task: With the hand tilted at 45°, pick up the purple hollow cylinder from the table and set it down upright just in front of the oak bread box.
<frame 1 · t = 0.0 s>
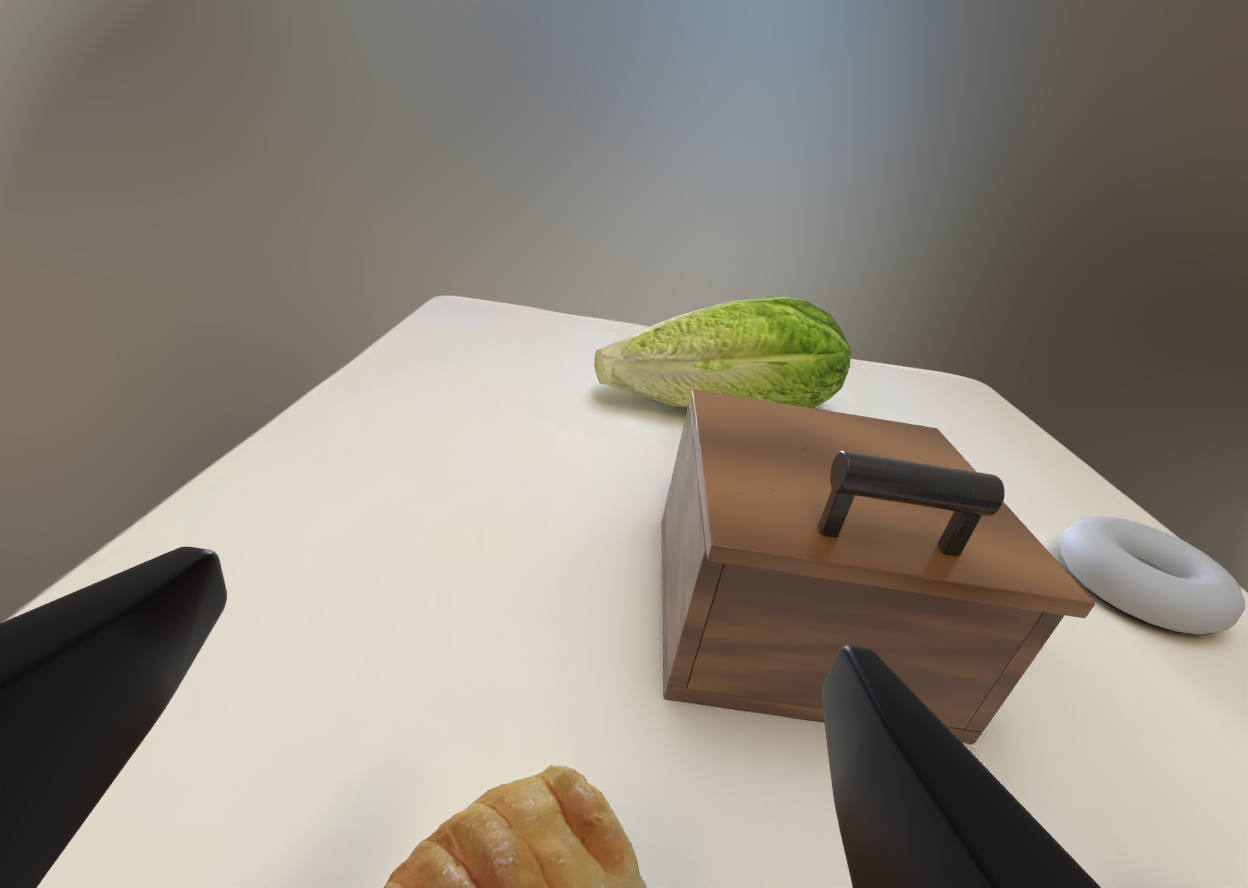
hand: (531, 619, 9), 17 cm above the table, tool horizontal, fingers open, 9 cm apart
lettuce: (709, 405, 58), on the table
bread box lid: (860, 447, 28), point 11 cm above the table, hinge at 0.0°
donut: (1130, 591, 41), on the table
bread box: (791, 613, 34), on the table
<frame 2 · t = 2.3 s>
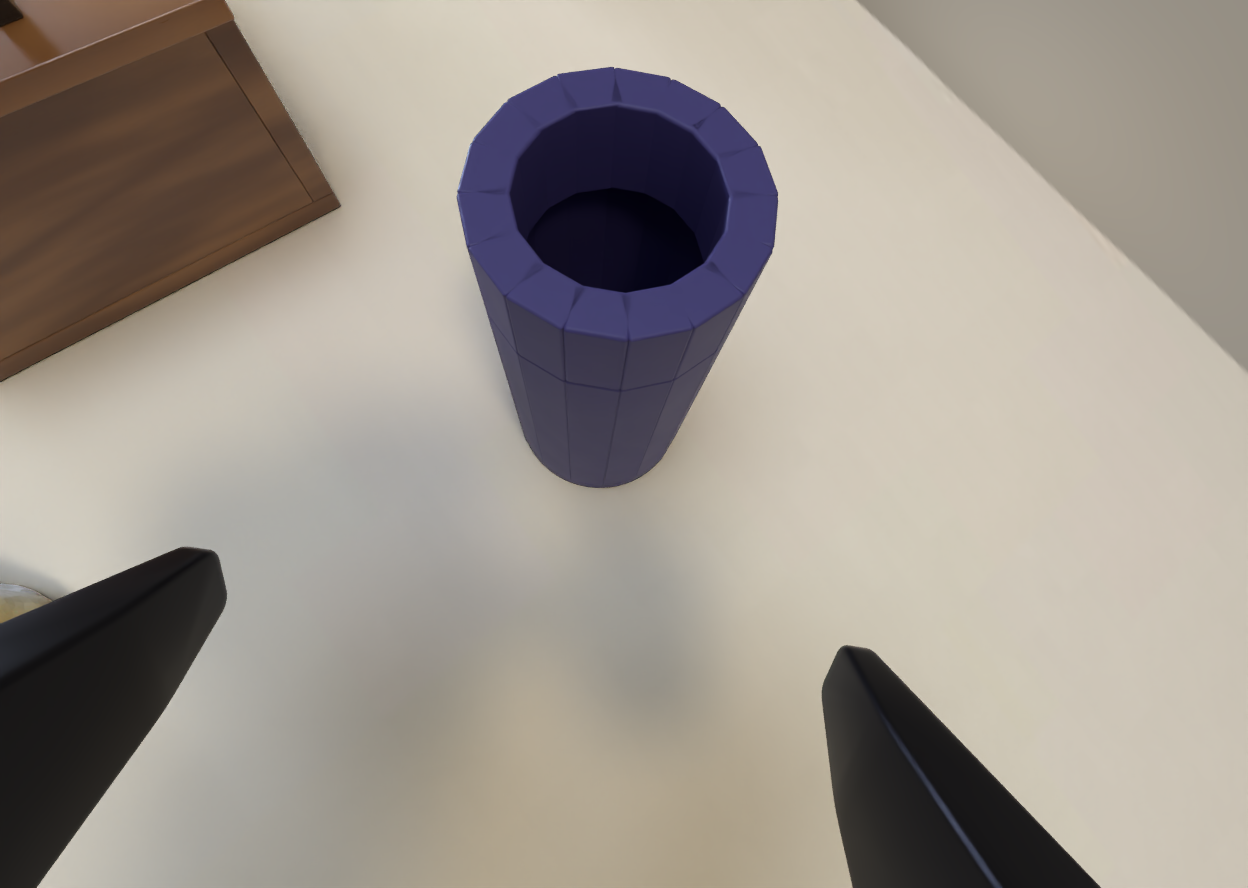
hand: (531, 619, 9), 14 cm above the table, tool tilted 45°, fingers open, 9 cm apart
purple hollow cylinder: (599, 412, 24), on the table
bread box: (103, 172, 25), on the table
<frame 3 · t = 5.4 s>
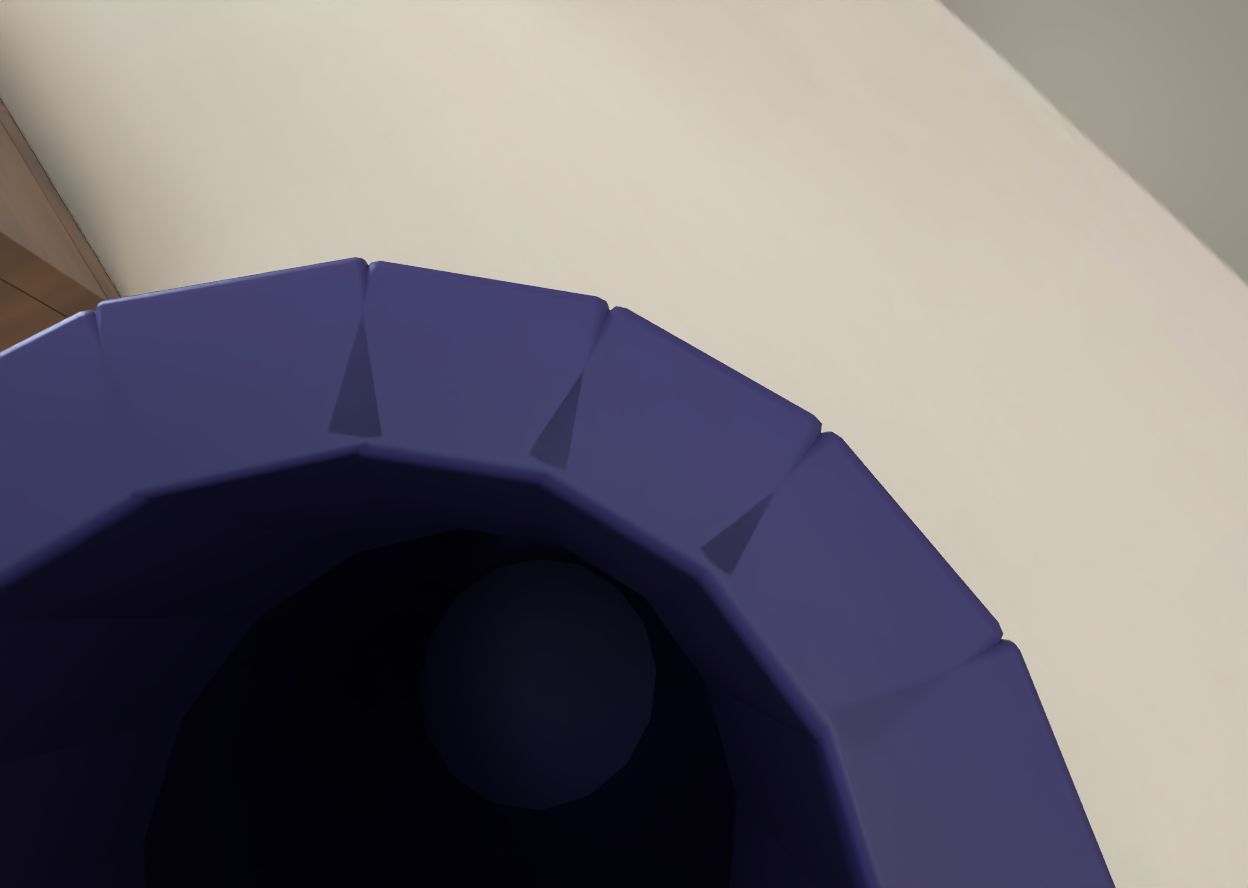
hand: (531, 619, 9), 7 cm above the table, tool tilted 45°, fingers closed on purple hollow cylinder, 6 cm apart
purple hollow cylinder: (541, 674, 15), on the table, touching gripper
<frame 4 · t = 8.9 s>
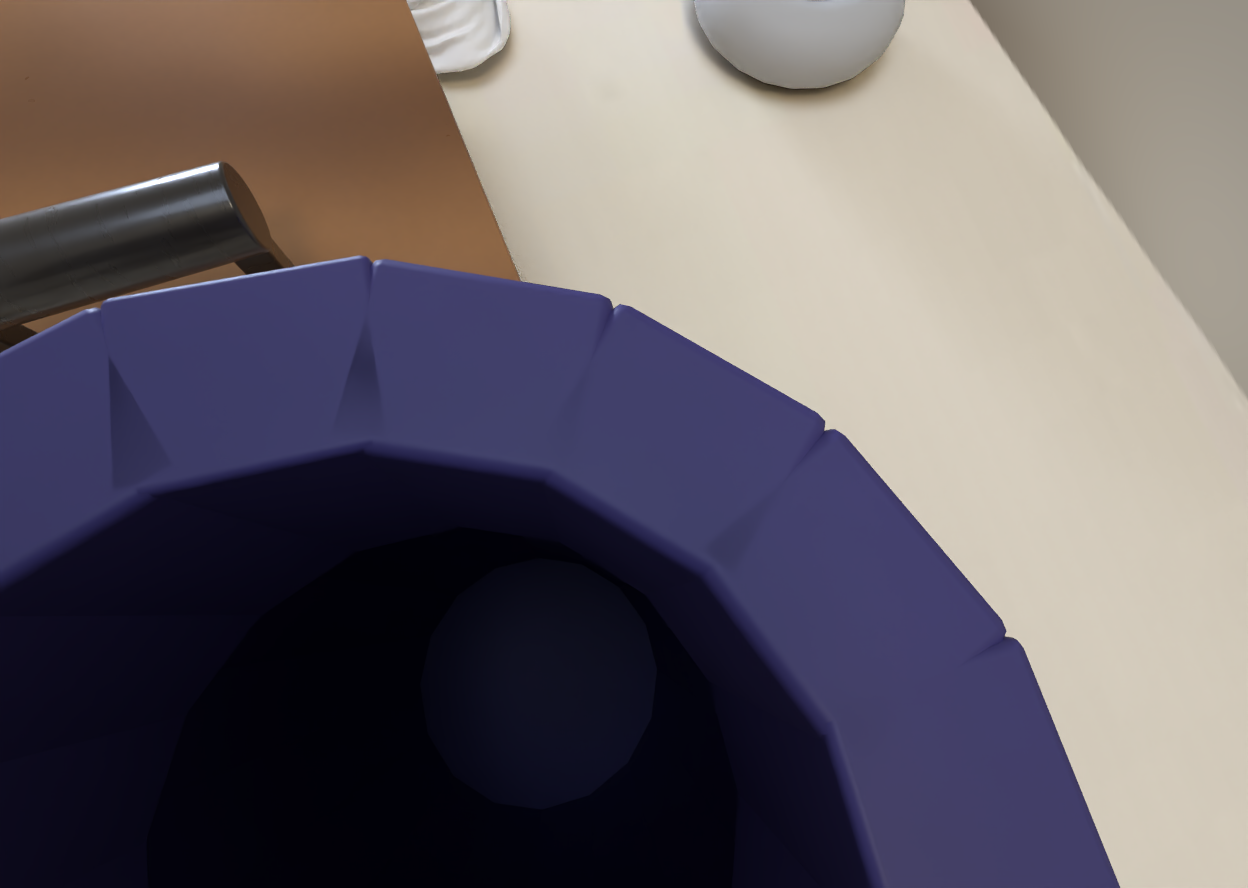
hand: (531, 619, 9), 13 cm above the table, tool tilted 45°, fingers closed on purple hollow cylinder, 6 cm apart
bread box lid: (82, 89, 13), point 11 cm above the table, hinge at 0.0°
donut: (784, 28, 30), on the table
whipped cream: (441, 29, 28), on the table
purple hollow cylinder: (542, 674, 15), point 7 cm above the table, touching gripper
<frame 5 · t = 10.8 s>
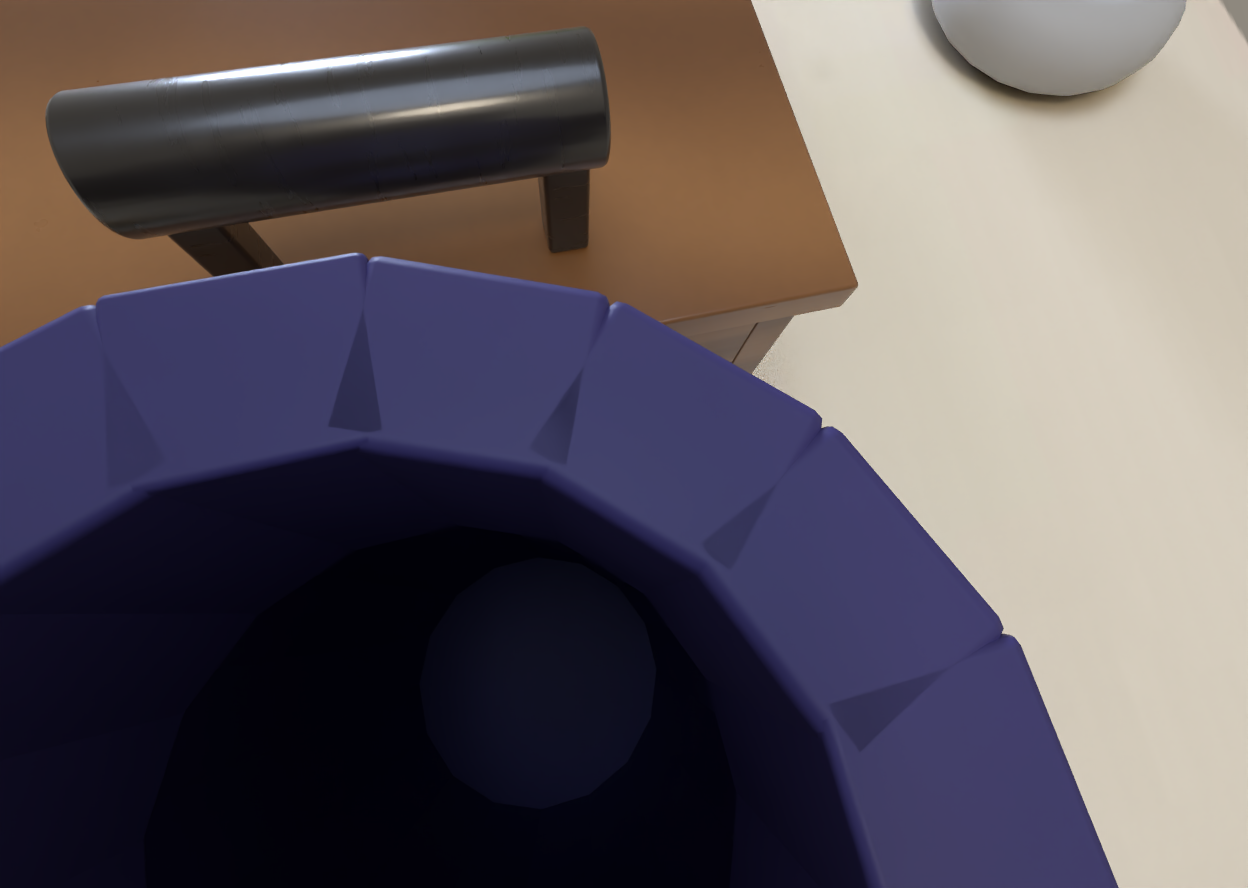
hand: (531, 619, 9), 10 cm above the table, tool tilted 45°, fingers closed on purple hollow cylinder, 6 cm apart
donut: (1021, 26, 26), on the table
purple hollow cylinder: (541, 673, 15), point 3 cm above the table, touching gripper
bread box: (467, 274, 21), on the table
when the fingers open (7 cm above the table, at t = 12.3 s): purple hollow cylinder stays where it is, on the table.
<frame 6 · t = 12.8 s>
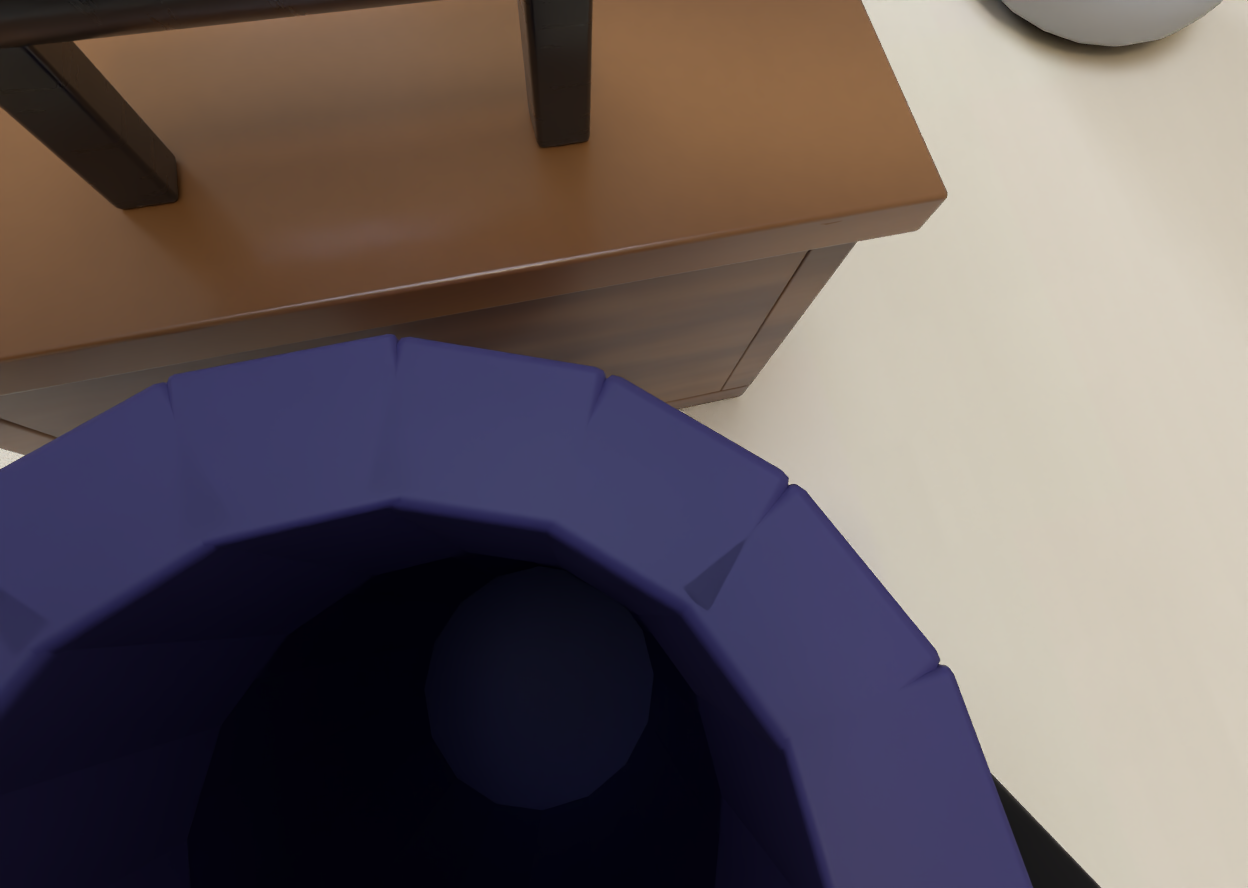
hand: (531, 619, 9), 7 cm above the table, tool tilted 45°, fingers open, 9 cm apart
purple hollow cylinder: (542, 678, 15), on the table
bread box: (450, 237, 18), on the table
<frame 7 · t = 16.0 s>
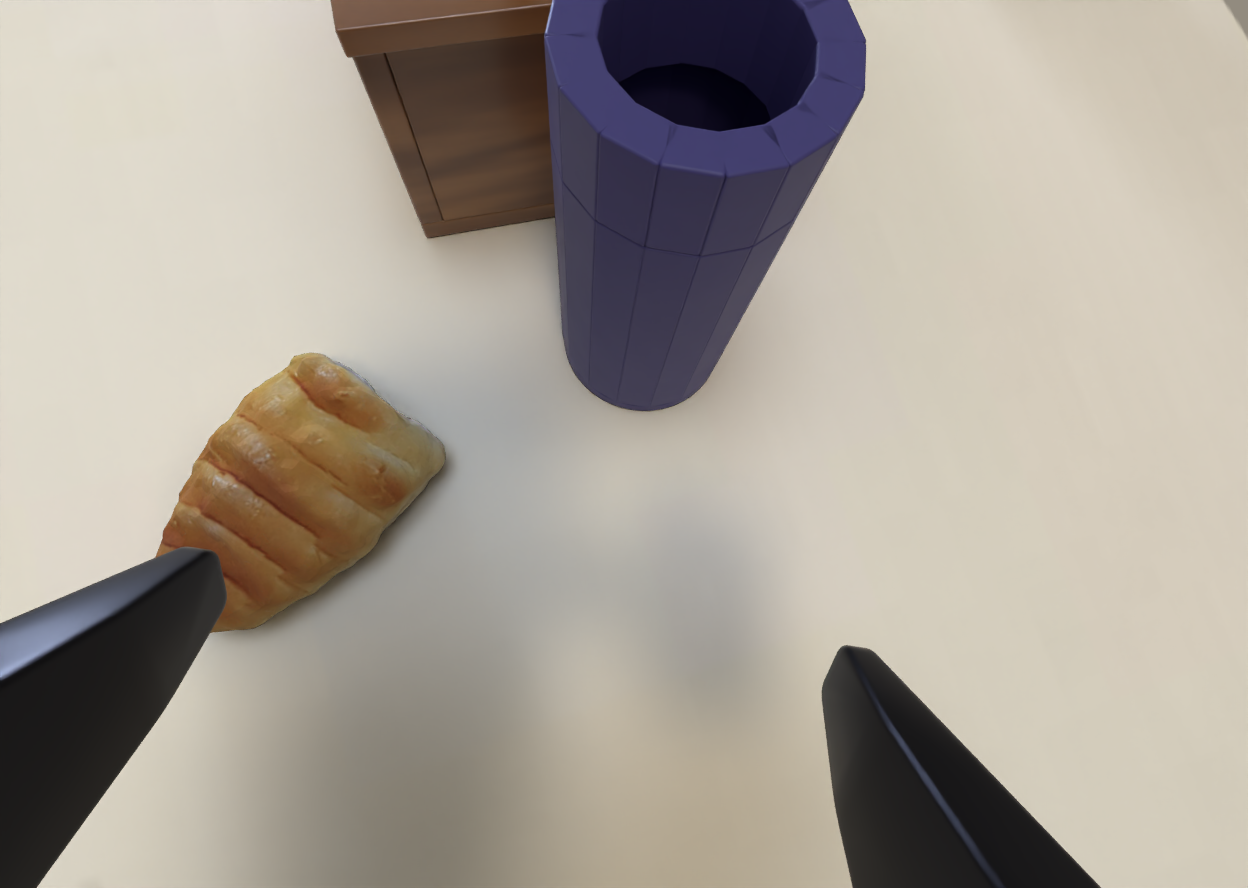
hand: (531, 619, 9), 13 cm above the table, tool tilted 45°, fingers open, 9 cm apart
pastry: (328, 492, 22), on the table
purple hollow cylinder: (641, 338, 24), on the table
bread box: (566, 82, 27), on the table
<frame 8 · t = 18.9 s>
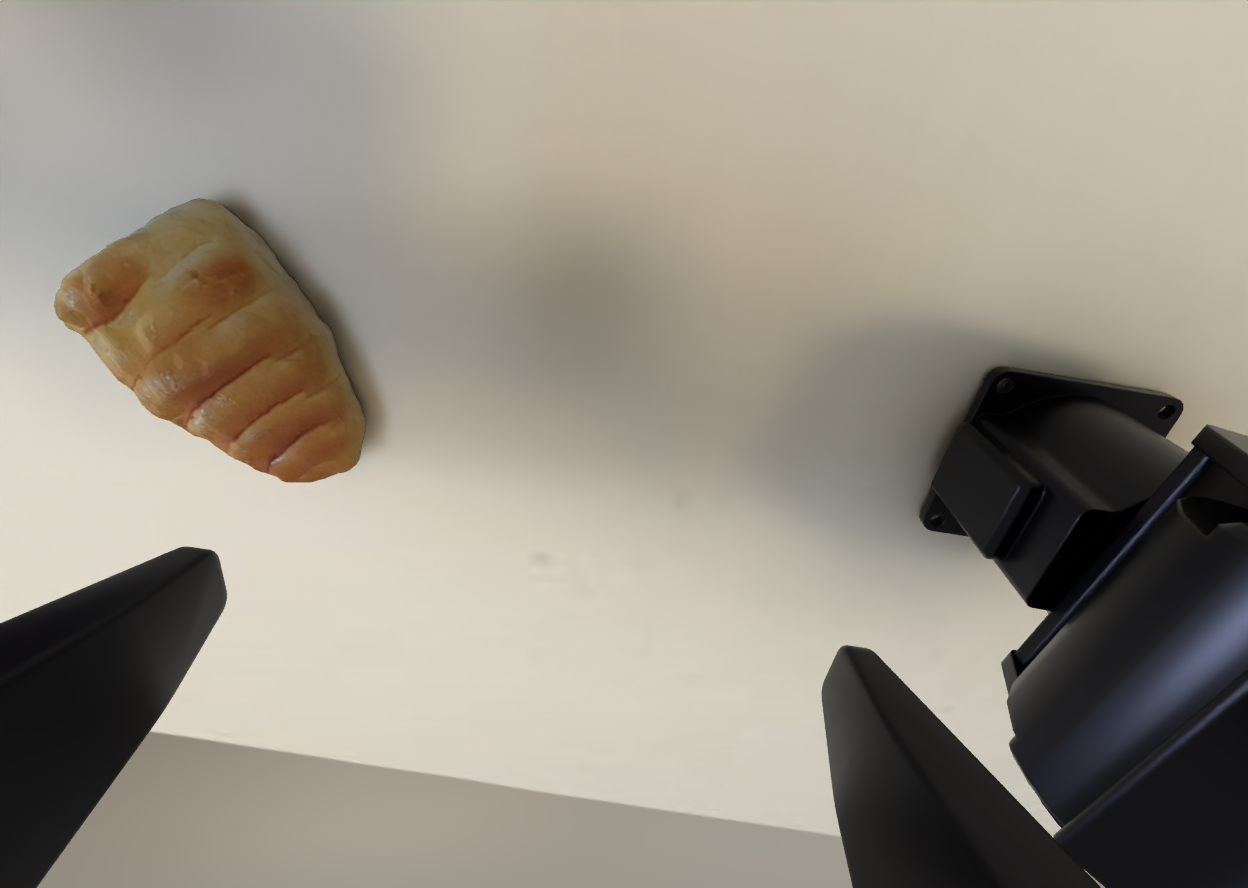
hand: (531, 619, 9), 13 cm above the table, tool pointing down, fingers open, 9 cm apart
pastry: (258, 332, 21), on the table
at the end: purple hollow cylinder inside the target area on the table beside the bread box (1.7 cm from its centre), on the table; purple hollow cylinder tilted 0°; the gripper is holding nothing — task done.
